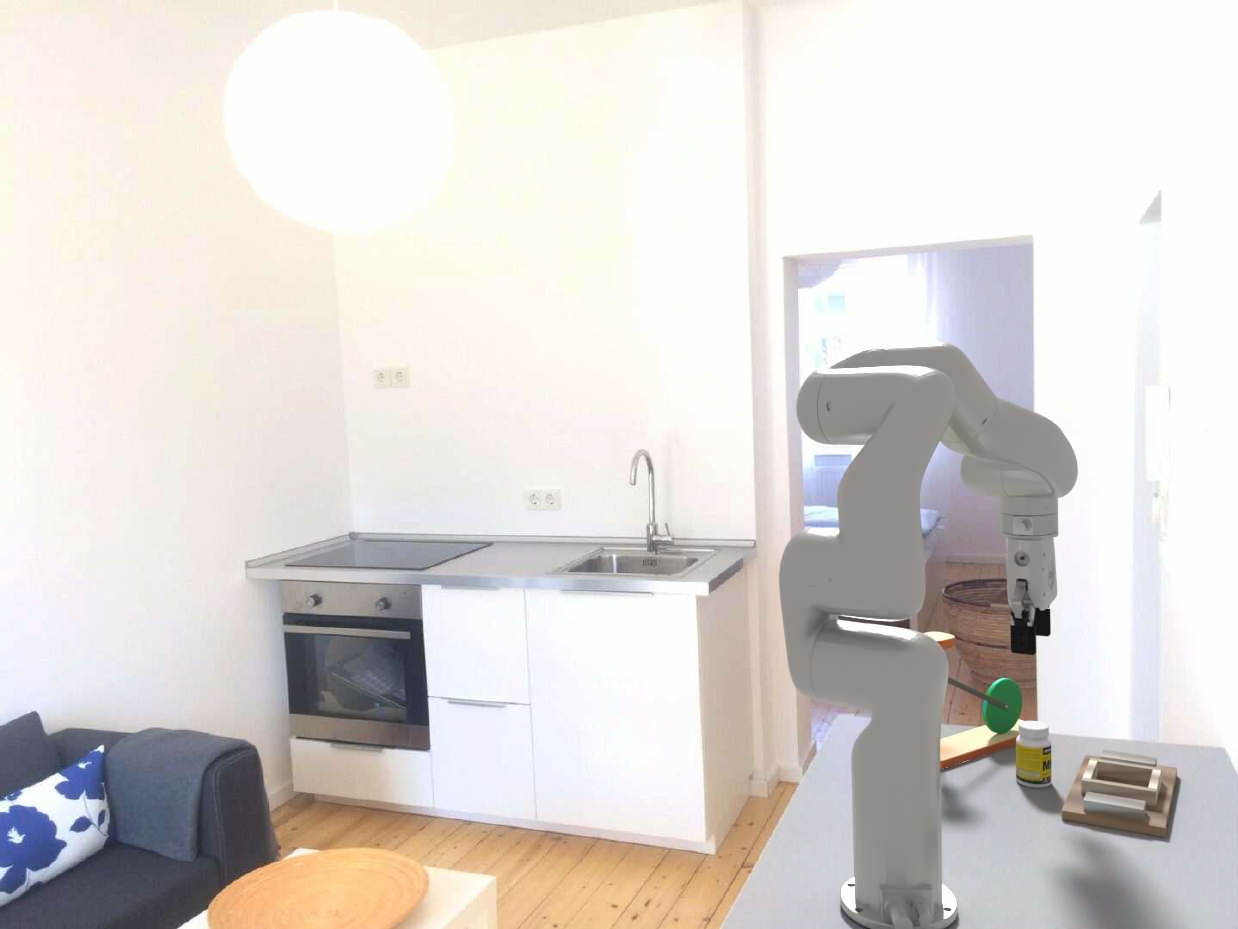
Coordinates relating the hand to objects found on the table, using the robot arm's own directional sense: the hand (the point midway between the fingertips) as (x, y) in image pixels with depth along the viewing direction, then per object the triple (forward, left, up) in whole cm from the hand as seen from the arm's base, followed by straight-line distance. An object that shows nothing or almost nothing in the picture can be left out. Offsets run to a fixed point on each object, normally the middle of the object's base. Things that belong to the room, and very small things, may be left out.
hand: (1031, 644), depth 146 cm
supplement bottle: (0, 0, -20) cm, 20 cm away
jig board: (-5, -10, -20) cm, 23 cm away
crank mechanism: (+15, +4, -21) cm, 25 cm away
